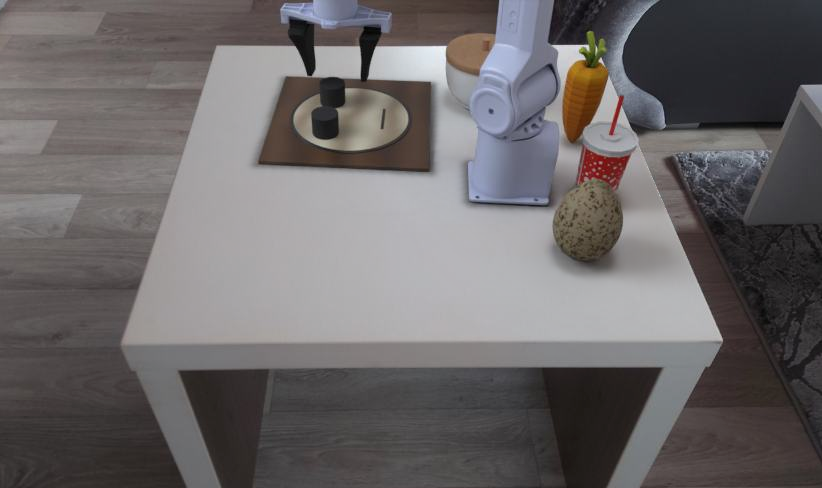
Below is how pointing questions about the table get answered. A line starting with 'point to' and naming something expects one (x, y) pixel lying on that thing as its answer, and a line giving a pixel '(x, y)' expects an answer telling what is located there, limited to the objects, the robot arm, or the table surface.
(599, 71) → the carrot
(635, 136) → the beverage cup
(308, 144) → the face board
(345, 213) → the table surface
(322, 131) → the eye puck
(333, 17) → the robot arm
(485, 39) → the trinket box
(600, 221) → the decorative egg
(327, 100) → the eye puck
